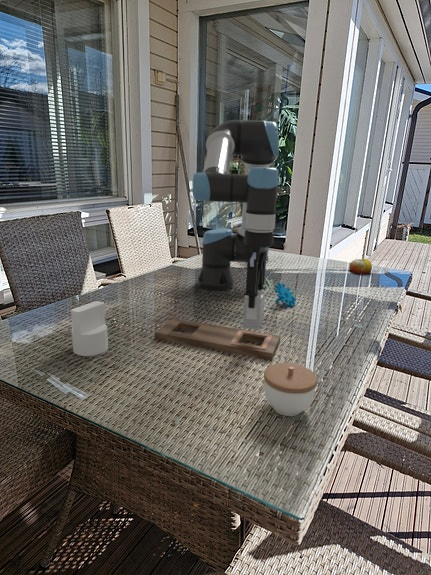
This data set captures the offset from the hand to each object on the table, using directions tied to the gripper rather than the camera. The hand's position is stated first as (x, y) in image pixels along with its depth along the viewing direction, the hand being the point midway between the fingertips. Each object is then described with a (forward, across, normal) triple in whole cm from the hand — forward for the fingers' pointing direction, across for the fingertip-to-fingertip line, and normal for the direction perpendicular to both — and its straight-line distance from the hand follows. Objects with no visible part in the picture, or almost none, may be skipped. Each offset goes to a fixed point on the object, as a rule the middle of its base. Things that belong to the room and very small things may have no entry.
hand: (253, 315), depth 109 cm
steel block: (+3, 0, 0) cm, 3 cm away
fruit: (+9, -105, +30) cm, 110 cm away
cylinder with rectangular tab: (+10, +18, -40) cm, 45 cm away
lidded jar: (+10, +26, +14) cm, 31 cm away
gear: (+9, -41, +3) cm, 42 cm away
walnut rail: (+9, 0, -10) cm, 14 cm away
